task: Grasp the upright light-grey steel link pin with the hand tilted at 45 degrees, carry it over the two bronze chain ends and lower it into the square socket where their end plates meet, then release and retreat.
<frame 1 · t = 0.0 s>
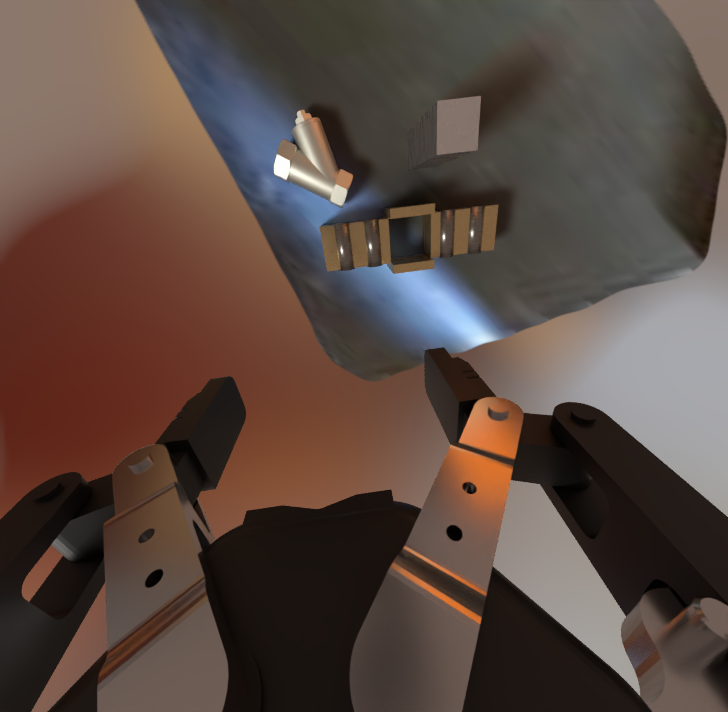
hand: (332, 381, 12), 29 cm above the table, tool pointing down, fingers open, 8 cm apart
link pin: (422, 150, 33), on the table
pipe fitting: (320, 162, 33), on the table
chain ends: (404, 236, 37), on the table
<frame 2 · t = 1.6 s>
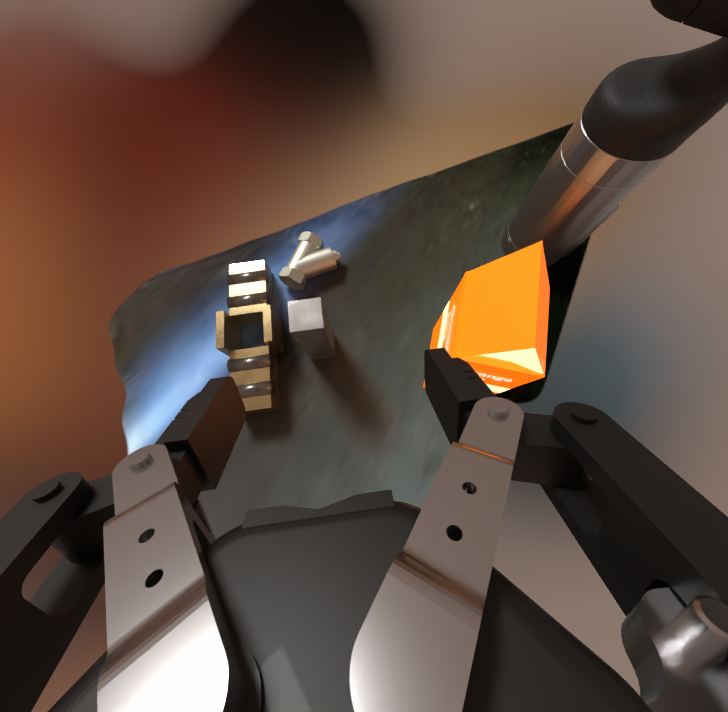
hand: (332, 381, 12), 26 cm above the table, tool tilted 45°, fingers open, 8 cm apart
link pin: (322, 346, 40), on the table
pipe fitting: (315, 272, 44), on the table
orange juice: (455, 363, 39), on the table
chain ends: (258, 339, 40), on the table
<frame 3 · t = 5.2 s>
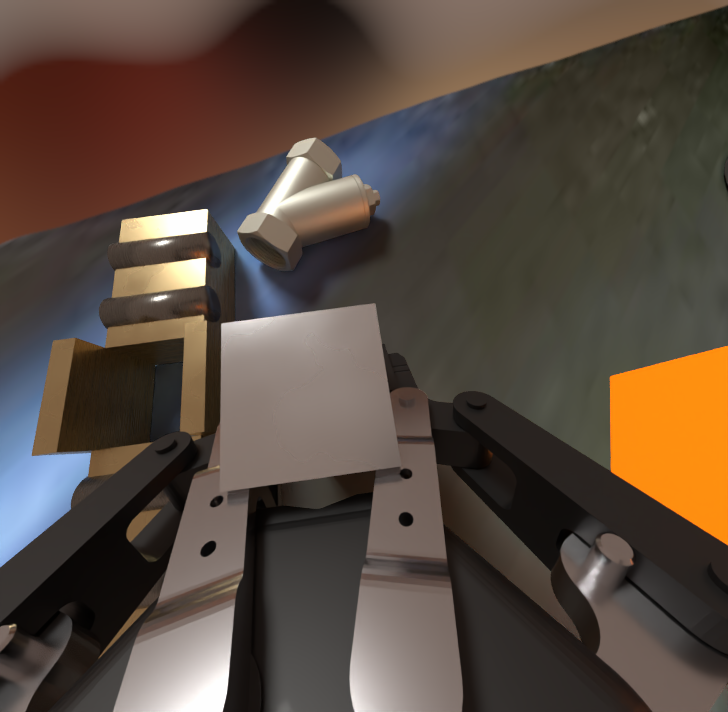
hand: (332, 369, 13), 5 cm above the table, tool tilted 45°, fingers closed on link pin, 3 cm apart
link pin: (346, 420, 16), on the table, touching gripper
pipe fitting: (321, 236, 21), on the table
orange juice: (678, 466, 16), on the table
chain ends: (194, 399, 17), on the table
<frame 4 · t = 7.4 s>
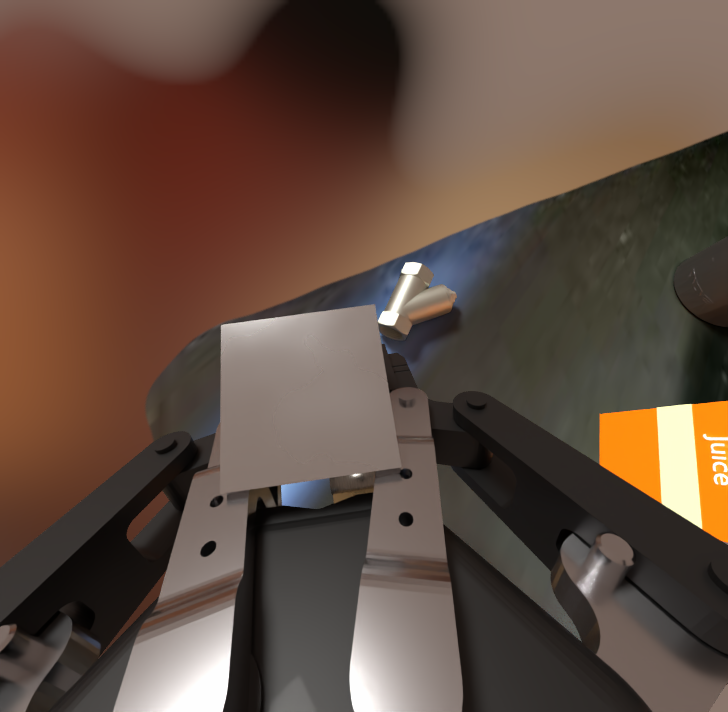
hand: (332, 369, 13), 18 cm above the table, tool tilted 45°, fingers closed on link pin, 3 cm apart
link pin: (346, 421, 16), point 13 cm above the table, touching gripper
pipe fitting: (415, 315, 33), on the table
orange juice: (638, 466, 28), on the table
chain ends: (356, 427, 29), on the table
when the fingers open (6 cm above the table, at t = 9.7 s): link pin drops 1 cm, resting in chain ends.
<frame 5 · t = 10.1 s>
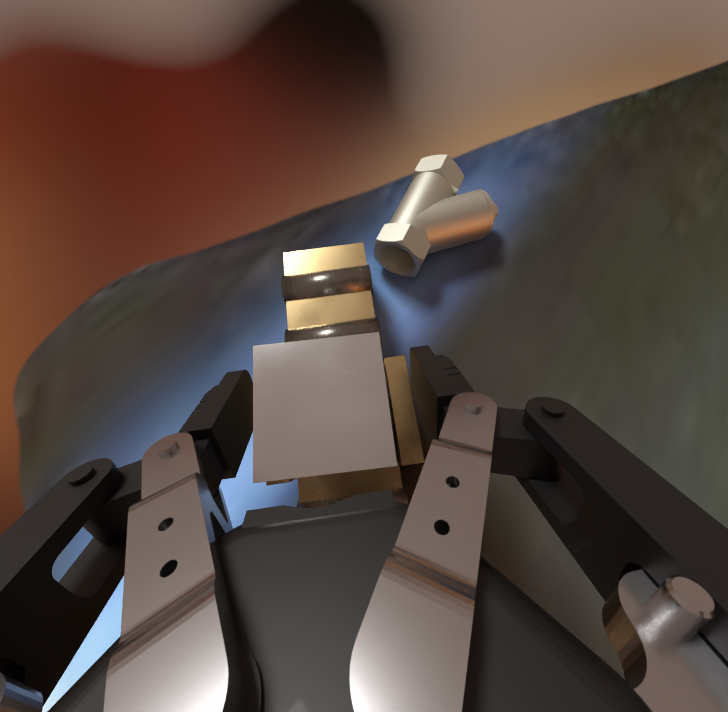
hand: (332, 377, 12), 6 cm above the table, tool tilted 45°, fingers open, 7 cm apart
link pin: (349, 423, 18), resting in chain ends
pipe fitting: (433, 244, 22), on the table
chain ends: (347, 422, 18), on the table
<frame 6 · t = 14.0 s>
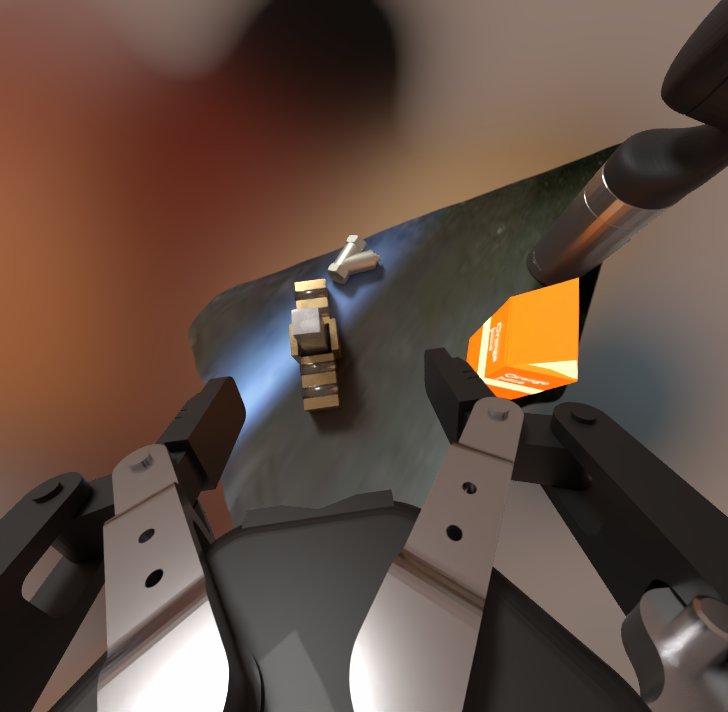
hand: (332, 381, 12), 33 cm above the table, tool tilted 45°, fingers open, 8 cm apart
link pin: (319, 347, 47), resting in chain ends
pipe fitting: (356, 270, 51), on the table
orange juice: (489, 368, 45), on the table
chain ends: (319, 346, 47), on the table
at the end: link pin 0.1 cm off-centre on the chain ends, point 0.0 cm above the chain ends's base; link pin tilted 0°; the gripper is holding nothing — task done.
